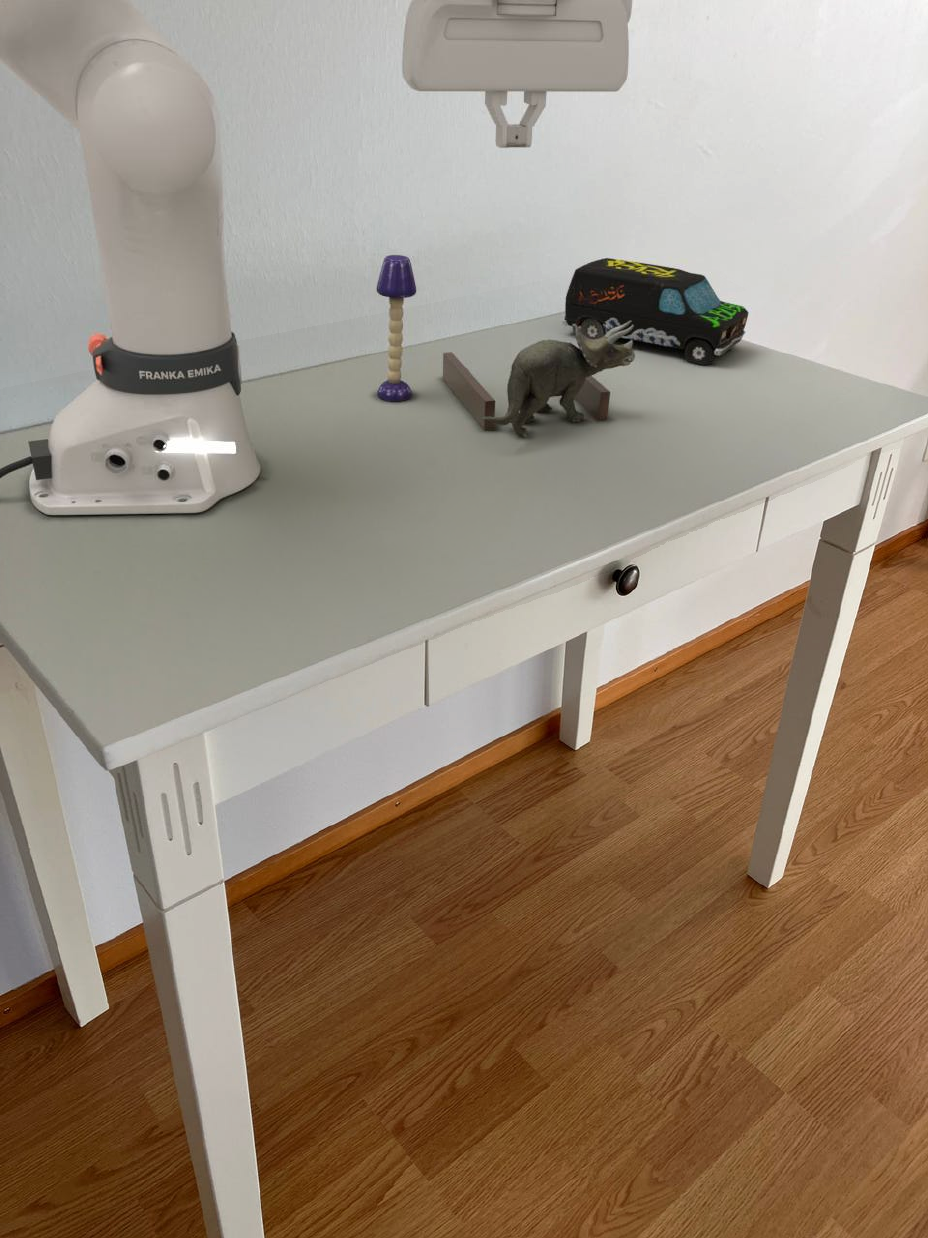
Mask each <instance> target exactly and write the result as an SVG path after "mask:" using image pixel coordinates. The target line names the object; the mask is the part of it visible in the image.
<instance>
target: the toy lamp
mask: <svg viewBox="0 0 928 1238" xmlns="http://www.w3.org/2000/svg"><path fill="white" fill-rule="evenodd" d="M415 280H416V279H415V275H414V271H413V267H412V262H411V259H410V258H409V257H408V256H406V255H401V254H389V255H387V256H385V257H384V259H383V262H382V265H381V269H380V273H379V276H378V279H377V283H376V293H377V294H378V295H379V296H382V297H386V298H388V302H389V305H390V307H389V310H388V316H389V321H388V329H389V334H388V343H389V346H388V347H387V353H388V360H387V367H388V371H387V380H385V381H383V382H382V383H380V385H379V387H378V389H377V396H378V398H379V399H381V400H383V401H386V402H387V401H388V402H403V401H407V400H410V399H411V398H412V397H413V393H412V390H411V387H410V385H409V384H408V383H407V382H406V381H403V380H402V371H401V369H402V365H403V359H402V356H403V346H402V344H403V340H404V335H403V333H402V332H403V329H404V322H403V317H404V307H403V306H404V301H405V299H407V298H411V297H414V296H415V295H416V294H417V285H416V281H415Z"/></svg>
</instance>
